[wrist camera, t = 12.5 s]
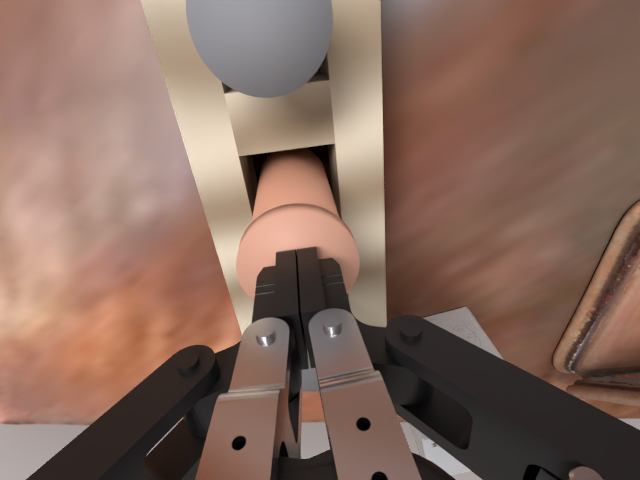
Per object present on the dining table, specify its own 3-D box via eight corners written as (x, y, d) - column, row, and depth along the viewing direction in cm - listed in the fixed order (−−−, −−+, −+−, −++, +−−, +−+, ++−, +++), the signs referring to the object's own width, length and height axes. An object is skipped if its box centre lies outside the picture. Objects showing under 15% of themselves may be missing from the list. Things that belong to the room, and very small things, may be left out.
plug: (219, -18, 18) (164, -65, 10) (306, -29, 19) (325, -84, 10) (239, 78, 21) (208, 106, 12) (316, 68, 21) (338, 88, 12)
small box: (389, 366, 35) (426, 483, 26) (380, 326, 32) (418, 441, 23) (470, 346, 34) (537, 458, 25) (468, 304, 31) (543, 413, 22)
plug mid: (247, 146, 20) (222, 222, 12) (326, 135, 21) (356, 204, 12) (262, 216, 23) (250, 322, 14) (333, 206, 23) (362, 306, 14)
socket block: (142, -107, 17) (92, -159, 12) (353, -132, 17) (376, -191, 12) (259, 329, 31) (254, 376, 26) (372, 312, 31) (387, 357, 27)
